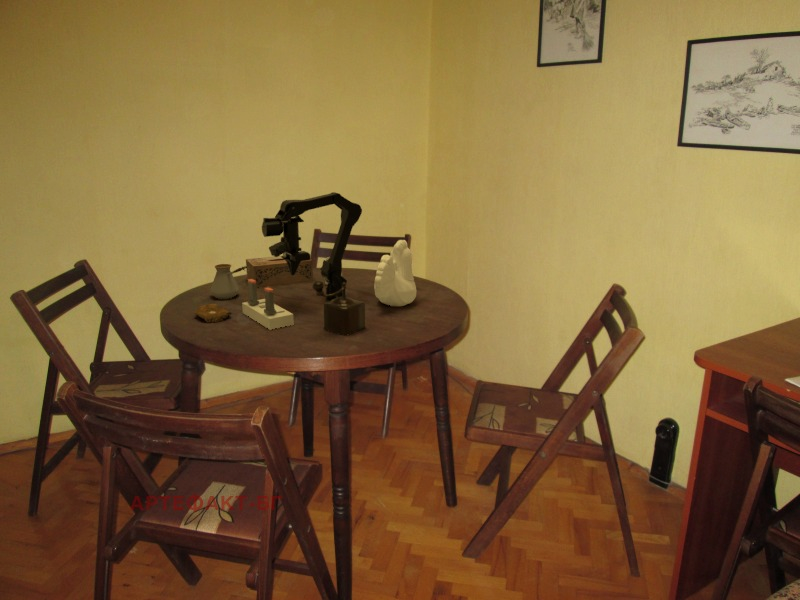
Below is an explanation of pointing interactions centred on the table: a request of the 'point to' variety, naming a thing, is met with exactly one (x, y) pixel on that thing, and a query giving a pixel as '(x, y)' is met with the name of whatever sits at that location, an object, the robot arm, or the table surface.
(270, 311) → the switch
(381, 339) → the table surface
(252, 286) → the switch
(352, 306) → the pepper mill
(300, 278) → the tissue box cover
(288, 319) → the cream lever base
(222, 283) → the coffee pot
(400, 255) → the cream foot sculpture
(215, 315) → the decorative rock
